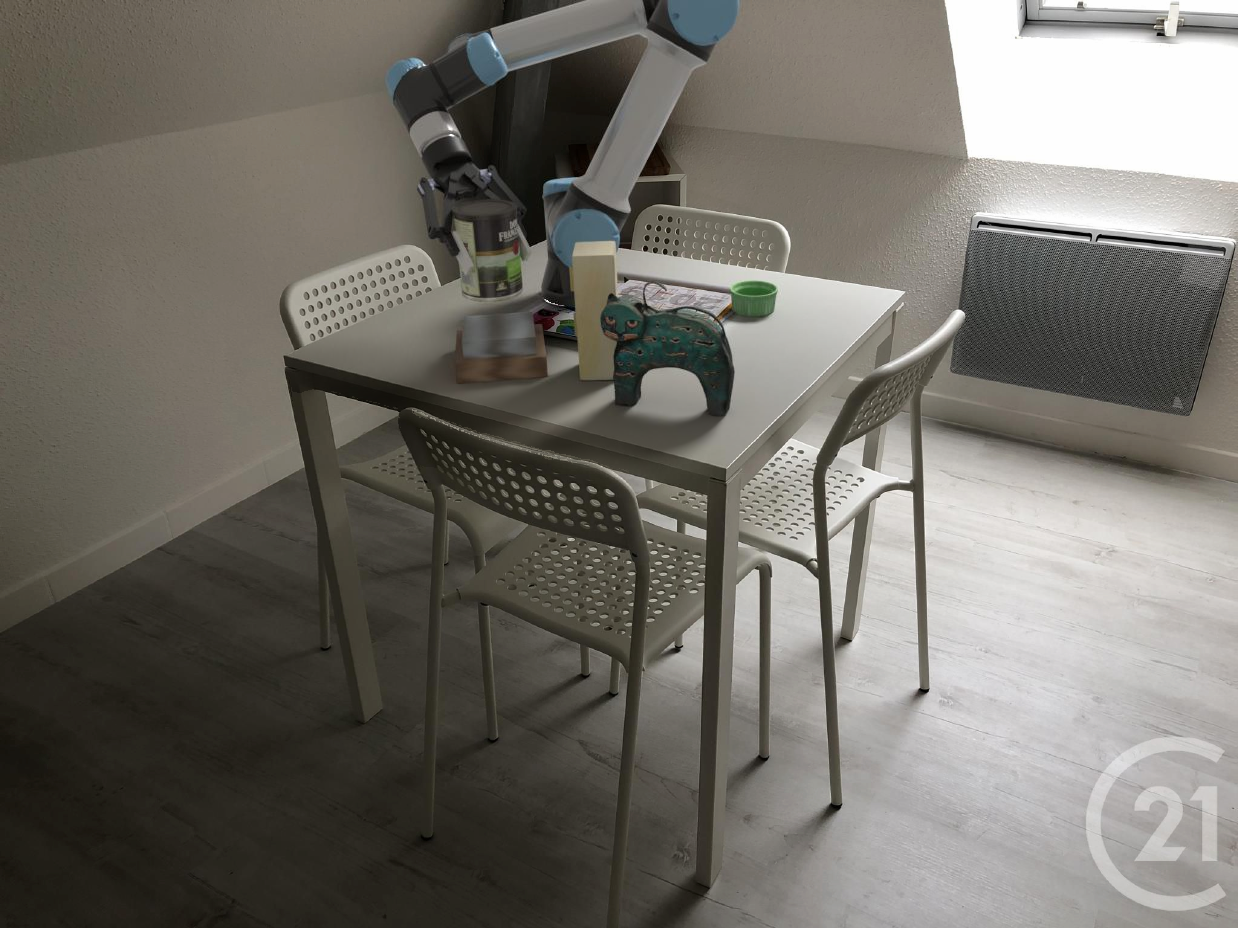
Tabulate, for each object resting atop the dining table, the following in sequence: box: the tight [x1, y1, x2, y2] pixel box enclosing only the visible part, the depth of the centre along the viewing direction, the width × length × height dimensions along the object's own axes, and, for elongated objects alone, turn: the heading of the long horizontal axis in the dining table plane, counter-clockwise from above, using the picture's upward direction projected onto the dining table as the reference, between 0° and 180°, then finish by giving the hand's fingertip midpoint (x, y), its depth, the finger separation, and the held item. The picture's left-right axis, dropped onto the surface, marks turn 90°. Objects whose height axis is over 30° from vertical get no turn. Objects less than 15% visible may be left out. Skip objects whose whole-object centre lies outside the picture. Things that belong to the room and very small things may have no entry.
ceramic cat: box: [600, 280, 736, 417], centre depth 145 cm, size 20×6×20 cm, turn 71°
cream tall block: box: [569, 241, 619, 381], centre depth 157 cm, size 8×7×21 cm
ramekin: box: [729, 280, 779, 318], centre depth 184 cm, size 9×9×4 cm
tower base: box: [454, 311, 549, 384], centre depth 165 cm, size 15×15×6 cm
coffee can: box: [452, 199, 524, 303], centre depth 157 cm, size 10×10×14 cm
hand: (499, 263), depth 156 cm, fingers closed on coffee can, 10 cm apart
